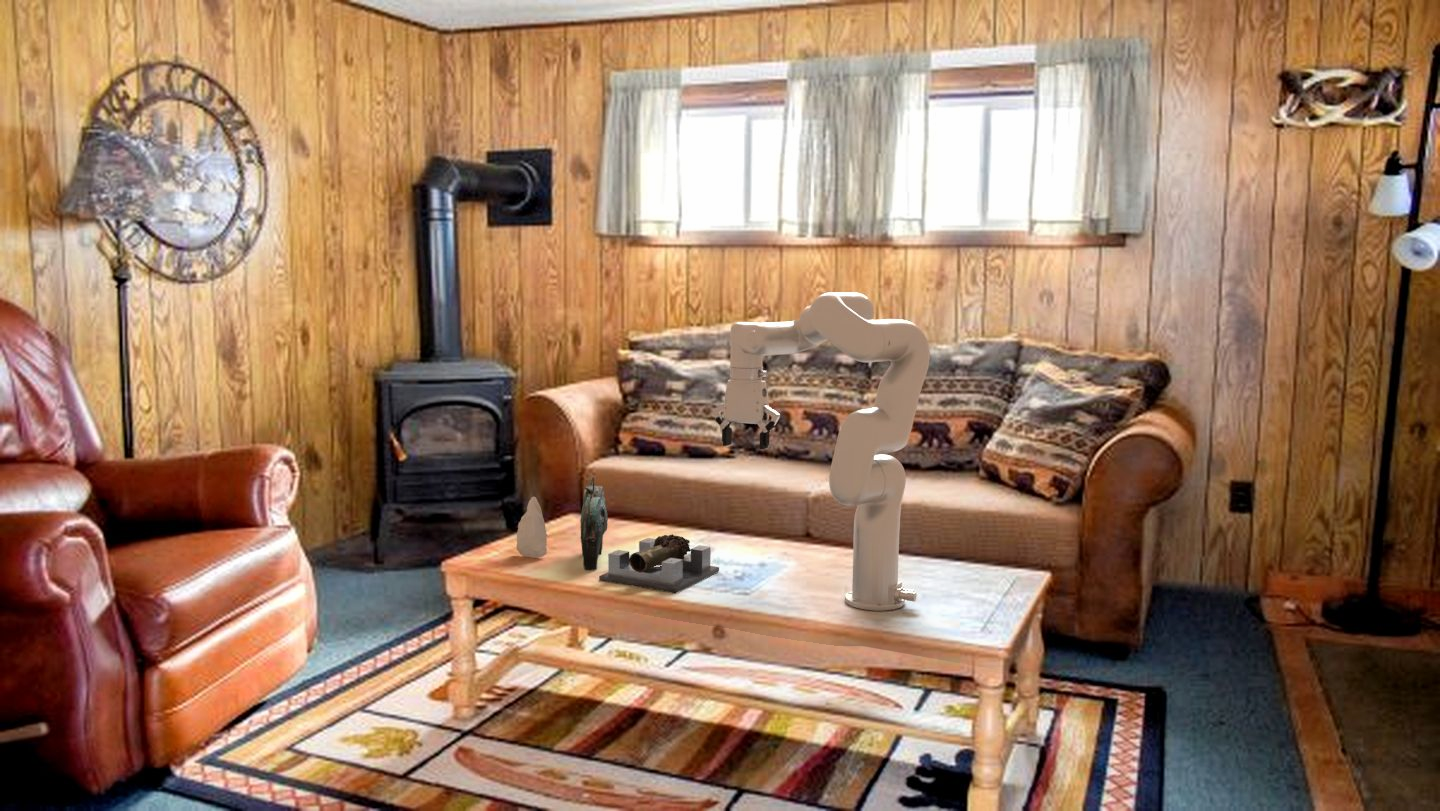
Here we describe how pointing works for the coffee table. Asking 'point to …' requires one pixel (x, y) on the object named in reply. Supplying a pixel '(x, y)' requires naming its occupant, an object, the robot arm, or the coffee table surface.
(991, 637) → the coffee table surface
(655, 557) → the metal pipe
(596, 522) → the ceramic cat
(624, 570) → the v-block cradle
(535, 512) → the stone tool
